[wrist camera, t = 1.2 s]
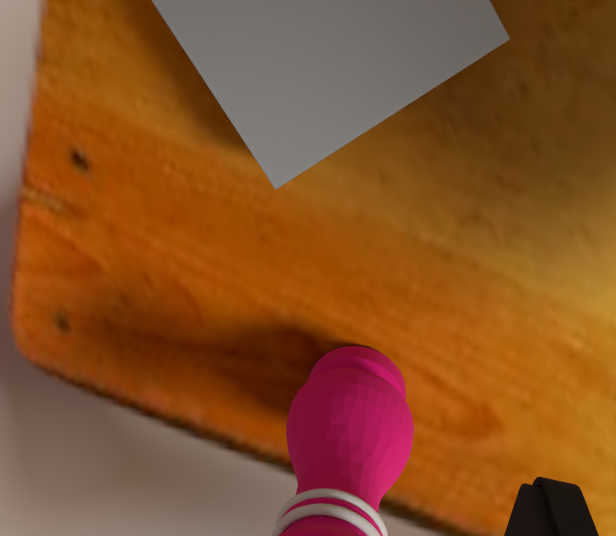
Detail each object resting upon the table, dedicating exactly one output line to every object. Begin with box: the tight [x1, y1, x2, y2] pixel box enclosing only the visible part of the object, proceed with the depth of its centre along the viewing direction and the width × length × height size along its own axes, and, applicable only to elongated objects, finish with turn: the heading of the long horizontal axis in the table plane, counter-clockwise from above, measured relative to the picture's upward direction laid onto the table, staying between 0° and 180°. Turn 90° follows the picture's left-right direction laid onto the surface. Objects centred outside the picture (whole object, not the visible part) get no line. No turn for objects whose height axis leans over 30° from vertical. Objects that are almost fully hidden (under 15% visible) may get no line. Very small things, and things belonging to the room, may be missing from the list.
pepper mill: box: [272, 346, 414, 536], centre depth 27 cm, size 7×7×20 cm
